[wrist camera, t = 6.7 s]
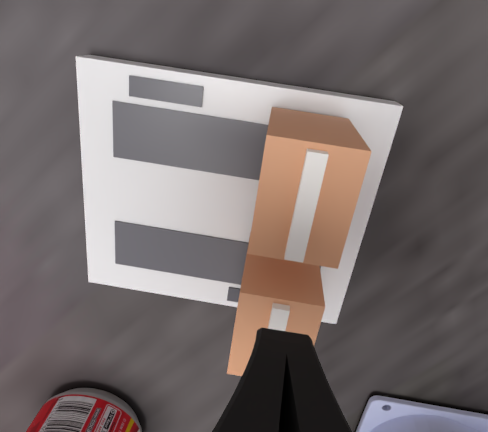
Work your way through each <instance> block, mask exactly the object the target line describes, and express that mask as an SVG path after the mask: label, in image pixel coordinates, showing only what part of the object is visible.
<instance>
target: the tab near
mask: <svg viewBox="0 0 488 432" xmlns="http://www.w3.org/2000/svg"><path fill="white" fill-rule="evenodd" d="M371 152H372V151H371V150H370V148H369V147H368V145H367V144H366V143H365V141H364V140H363V138H362V137H361V135H360V134H359V133H358V131H357V130H356V128H355V127H354V125H353V124H352V123H351V121H350V120H349V119H348V118H341V117H335V116H328V115H322V114H315V113H309V112H302V111H296V110H290V109H283V108H277V107H272V109H271V114H270V119H269V125H268V130H267V135H266V141H265V147H264V154H263V160H262V166H261V172H260V179H259V185H258V191H257V197H256V204H255V210H254V216H253V222H252V228H251V235H250V241H249V247H248V253H247V254H252V255H258V256H264V257H270V258H276V259H282V260H288V261H294V262H300V263H306V264H312V265H318V266H324V267H330V268H336V269H338V267H339V263H340V260H341V256H342V253H343V249H344V246H345V242H346V239H347V235H348V232H349V228H350V225H351V221H352V218H353V215H354V211H355V208H356V204H357V201H358V197H359V194H360V190H361V187H362V183H363V180H364V176H365V173H366V169H367V166H368V163H369V159H370V156H371Z"/></svg>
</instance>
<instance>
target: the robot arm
mask: <svg viewBox="0 0 488 432" xmlns="http://www.w3.org/2000/svg"><path fill="white" fill-rule="evenodd" d="M212 432H352V431H351V429H350V427H349V425H348V423H347V421H346V419H345V417H344V415H343V413H342V411H341V409H340V407H339V405H338V403H337V401H336V399H335V397H334V394H333V392H332V390H331V388H330V386H329V383H328V381H327V379H326V376H325V374H324V372H323V369H322V367H321V364H320V362H319V359H318V357H317V354H316V351H315V348H314V345H313V342H312V339H311V338H310V337H309V335H306V334H299V333H293V332H287V331H281V330H274V329H268V328H260V329H258V330H257V334H256V340H255V344H254V347H253V350H252V353H251V356H250V359H249V361H248V364H247V366H246V369H245V371H244V373H243V375H242V377H241V379H240V381H239V384H238V386H237V388H236V390H235V392H234V394H233V396H232V398H231V399H230V401H229V403H228V405H227V407H226V408H225V410H224V412H223V414H222V416H221V418H220V419H219V421H218V423H217V425H216V426H215V428H214V429H213V431H212ZM356 432H488V415H487V414H481V413H475V412H470V411H464V410H458V409H453V408H447V407H441V406H436V405H430V404H424V403H419V402H413V401H407V400H402V399H396V398H390V397H385V396H379V395H375V396H372V397H370V399H369V400H368V403H367V405H366V407H365V410H364V412H363V415H362V417H361V420H360V422H359V425H358V427H357V430H356Z"/></svg>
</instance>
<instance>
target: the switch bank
mask: <svg viewBox="0 0 488 432" xmlns="http://www.w3.org/2000/svg"><path fill="white" fill-rule="evenodd" d="M76 70H77V88H78V105H79V123H80V140H81V158H82V175H83V193H84V210H85V228H86V245H87V263H88V281H89V282H93V283H99V284H105V285H110V286H116V287H122V288H128V289H134V290H140V291H145V292H151V293H157V294H163V295H169V296H175V297H180V298H186V299H192V300H198V301H204V302H210V303H215V304H221V305H227V306H233V307H237V306H238V300H239V294H240V288H241V282H242V277H243V271H244V266H245V260H246V255H247V249H248V244H249V238H250V232H251V228H252V222H253V216H254V210H255V204H256V197H257V191H258V185H259V179H260V172H261V166H262V160H263V154H264V147H265V141H266V135H267V130H268V125H269V119H270V114H271V109H272V107H277V108H283V109H290V110H296V111H302V112H309V113H315V114H322V115H328V116H335V117H341V118H348V119H349V120H350V121H351V123H352V124H353V125H354V127H355V128H356V130H357V131H358V133H359V134H360V135H361V137H362V138H363V140H364V141H365V143H366V144H367V145H368V147H369V148H370V150H371V151H372V152H371V156H370V159H369V163H368V166H367V169H366V173H365V176H364V180H363V183H362V187H361V190H360V194H359V197H358V201H357V204H356V208H355V211H354V215H353V218H352V221H351V225H350V228H349V232H348V235H347V239H346V242H345V246H344V249H343V253H342V256H341V260H340V263H339V267H338V269H336V268H330V267H324V266H320V272H321V280H322V287H323V294H324V301H325V310H324V313H323V317H322V320H321V322H326V323H332V324H336V323H337V319H338V316H339V313H340V310H341V306H342V303H343V300H344V297H345V294H346V290H347V287H348V284H349V281H350V277H351V274H352V271H353V268H354V264H355V261H356V258H357V255H358V251H359V248H360V245H361V242H362V239H363V235H364V232H365V229H366V226H367V222H368V219H369V216H370V213H371V209H372V206H373V203H374V200H375V197H376V193H377V190H378V187H379V184H380V180H381V177H382V174H383V171H384V167H385V164H386V161H387V158H388V154H389V151H390V148H391V145H392V142H393V138H394V135H395V132H396V129H397V125H398V122H399V119H400V116H401V112H402V109H403V106H402V105H401V104H399V103H398V102H396V101H391V100H384V99H378V98H371V97H365V96H358V95H351V94H345V93H338V92H332V91H325V90H319V89H312V88H305V87H299V86H292V85H286V84H279V83H273V82H266V81H260V80H253V79H246V78H240V77H233V76H227V75H220V74H214V73H207V72H200V71H194V70H187V69H181V68H174V67H168V66H161V65H155V64H148V63H141V62H135V61H128V60H122V59H115V58H109V57H102V56H95V55H82V56H76Z"/></svg>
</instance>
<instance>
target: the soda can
mask: <svg viewBox="0 0 488 432" xmlns="http://www.w3.org/2000/svg"><path fill="white" fill-rule="evenodd" d="M26 432H142V429H141V426H140V424H139V421H138V418H137V416H136V414H135V412H134V411H133V410H132V408H131V407H130V406H129V405H128V404H127V403H126V402H125V401H123V400H122V399H120V398H119V397H117V396H115V395H113V394H111V393H109V392H106V391H103V390H100V389H95V388H76V389H72V390H68V391H65V392H63V393H60V394H58V395H56V396H54V397H52V398H50V399H49V400H48V401H47V402H46V403H45V404H44V405H43V406H42V408H41V409H40V411H39V412H38V414H37V415H36V417H35V419H34V420H33V422H32V423H31V425H30V426H29V428H28V429H27V431H26Z"/></svg>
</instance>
